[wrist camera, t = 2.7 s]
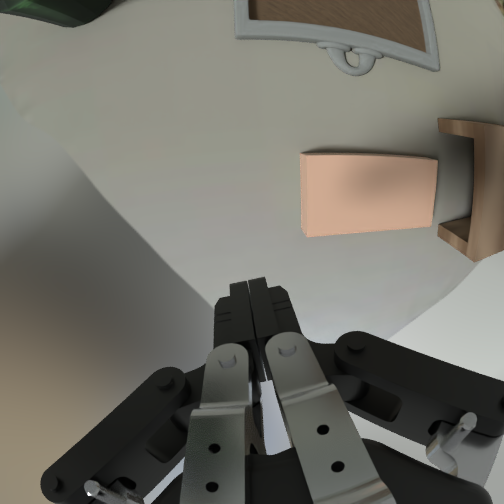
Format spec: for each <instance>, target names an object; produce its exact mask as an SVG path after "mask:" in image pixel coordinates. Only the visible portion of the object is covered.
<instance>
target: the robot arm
mask: <svg viewBox="0 0 504 504" xmlns="http://www.w3.org/2000/svg"><path fill="white" fill-rule="evenodd" d="M248 284H249V288H248ZM249 290H250V292H249ZM214 312H215V313H214V314H215V317H214V348H213V350H212V351H211V352H210V354H209V355H208V357H207V360H206V363H205V364H204V365H203V366H201V367H199V368H197V369H195V370H192V371H190V372H187V373H185V374H184V373H183V372H182V371H181V370H180V369H178V368H175V367H165V368H162V369H159V370H157V371H156V372H154V373H153V374H152V375H151V376H150V377H149V378H148V379H147V380H145V381H144V383H142V384H141V385H140V386H139V387H138V388H137V389H136V390H135V391H134V392H133V393H132V394H130V396H128V397H127V398H126V399H125V400H124V401H123V402H122V403H121V404H120V405H118V406H117V407H116V408H115V409H114V410H113V411H112V412H111V413H110V414H109V415H108V416H106V418H104V419H103V420H102V421H101V422H100V423H99V424H98V425H97V426H96V427H94V428H93V429H92V430H91V431H90V432H89V433H88V434H87V435H86V436H84V437H83V438H82V439H81V440H80V441H79V442H78V443H76V444H75V445H74V446H73V447H72V448H71V449H70V450H68V451H67V452H66V453H65V454H64V455H63V456H62V457H61V458H59V459H58V460H57V461H56V462H55V463H54V464H53V465H51V466H50V467H49V468H48V469H47V470H46V471H45V472H44V473H43V475H42V478H41V484H40V485H41V490H42V493H43V494H44V496H45V497H46V498H47V499H48V500H49V501H51V502H53V503H55V504H144V500H143V498H144V497H145V496H146V495H147V494H148V493H150V491H152V490H153V489H154V488H155V486H157V484H159V483H160V482H161V481H162V479H164V477H166V475H168V474H169V472H170V471H171V470H172V469H173V468H174V467H175V466H176V465H177V464H178V463H179V462H180V461H181V460H182V459H183V458H184V457H185V460H184V469H183V472H182V473H181V474H179V475H178V476H177V477H176V478H175V479H174V480H173V481H172V482H171V483H170V484H169V485H168V486H167V487H166V488H165V489H164V490H163V492H162V493H161V494H160V495H159V496H158V497H157V498H156V499H155V500H154V501H153V502H152V503H151V504H493V503H492V500H491V497H490V495H489V493H488V492H487V491H486V490H485V489H484V488H483V487H484V485H485V483H486V481H487V478H488V476H489V474H490V471H491V469H492V466H493V464H494V461H495V458H496V455H497V453H498V450H499V447H500V444H501V441H502V437H503V435H504V381H501V380H498V379H495V378H492V377H489V376H486V375H482V374H479V373H476V372H473V371H470V370H467V369H465V368H462V367H459V366H456V365H453V364H450V363H447V362H444V361H441V360H439V359H436V358H433V357H430V356H427V355H425V354H422V353H419V352H416V351H414V350H411V349H408V348H405V347H403V346H400V345H397V344H395V343H392V342H389V341H387V340H384V339H382V338H379V337H376V336H374V335H371V334H369V333H366V332H362V331H352V332H348V333H345V334H343V335H342V336H340V337H339V338H338V340H337V341H336V343H335V344H321V343H315V342H312V341H310V340H308V339H307V338H306V337H304V335H303V334H302V332H301V329H300V326H299V323H298V321H297V318H296V315H295V312H294V309H293V307H292V304H291V301H290V298H289V295H288V292H287V291H286V290H285V289H283V288H282V287H281V286H276V287H271V288H268V287H267V283H266V279H265V277H261V278H256V279H252V280H248V283H247V281H242V282H237V283H232V284H230V296H227V297H222V298H219V300H218V302H217V303H216V305H215V311H214ZM263 364H264V366H263ZM264 368H265V372H266V375H267V379H268V381H269V380H272V381H273V385H274V389H275V393H276V397H277V401H278V404H279V408H280V411H281V414H282V418H283V421H284V425H285V428H286V431H287V434H288V438H289V441H290V445H291V448H289V449H287V450H285V451H282V452H280V453H278V454H275V455H267V453H266V448H265V442H264V428H263V408H262V397H261V394H262V393H261V385H260V382H264V381H266V378H265V372H264ZM348 411H350V412H352V413H354V414H356V415H358V416H360V417H362V418H364V419H366V420H368V421H370V422H372V423H374V424H376V425H379V426H381V427H383V428H385V429H387V430H389V431H391V432H394V433H396V434H398V435H400V436H403V437H405V438H407V439H410V440H412V441H415V442H417V443H420V444H422V445H425V446H426V456H427V458H428V459H429V461H430V462H431V463H432V464H434V465H436V466H437V467H439V468H440V470H438V469H436V468H434V467H431V466H429V465H427V464H424V463H422V462H420V461H417V460H415V459H413V458H411V457H409V456H407V455H405V454H403V453H400V452H398V451H396V450H394V449H392V448H390V447H388V446H386V445H384V444H382V443H380V442H377V441H374V440H370V439H364V438H361V437H360V435H359V433H358V431H357V429H356V427H355V425H354V423H353V421H352V419H351V417H350V415H349V412H348Z"/></svg>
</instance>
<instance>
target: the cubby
mask: <svg viewBox="0 0 504 504" xmlns="http://www.w3.org/2000/svg"><path fill="white" fill-rule="evenodd" d="M438 125H439V132H443V133H449V134H455V135H460V136H465V137H470V138H474V192H473V206H472V216H471V217H467V218H463V219H459V220H455V221H451V222H446V223H442V224H439V226H438V237H440V238H441V239H443V240H444V241H446V242H447V243H448V244H450V245H451V246H453V247H454V248H455V249H457V250H458V251H460V252H461V253H462V254H464V255H465V256H466V257H468V258H469V259H470V260H472V261H473V262H477V261H479V260H482V259H484V258H486V257H488V256H491V255H493V254H496V253H498V252H501V251H503V250H504V126H502V125H496V124H490V123H482V122H474V121H465V120H454V119H440V118H438Z"/></svg>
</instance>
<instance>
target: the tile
mask: <svg viewBox="0 0 504 504" xmlns="http://www.w3.org/2000/svg"><path fill="white" fill-rule="evenodd" d="M437 166H438V161H437V160H434V159H430V158H426V157H417V156H405V155H391V154H370V153H300V173H301V229H302V230H303V232H304V233H305V235H306V236H307V237H315V236H326V235H337V234H349V233H360V232H372V231H384V230H395V229H408V228H420V227H431V222H432V216H433V208H434V200H435V191H436V180H437Z"/></svg>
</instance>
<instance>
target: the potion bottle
mask: <svg viewBox="0 0 504 504" xmlns="http://www.w3.org/2000/svg"><path fill="white" fill-rule="evenodd" d="M111 1H112V0H0V13H5V14H11V15H16V16H22V17H27V18H31V19H36V20H40V21H44V22H48V23H51V24H55V25H59V26H62V27H72V28H74V27H77V26H80V25H83V24H86V23H87V22H89V21H91V20H92V19H94V18H95V17H97V16H98V15H99V14H100V13H101V12H102V11H104V10H105V9H106V8H107V7H108V6H109V5H110V3H111Z"/></svg>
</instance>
